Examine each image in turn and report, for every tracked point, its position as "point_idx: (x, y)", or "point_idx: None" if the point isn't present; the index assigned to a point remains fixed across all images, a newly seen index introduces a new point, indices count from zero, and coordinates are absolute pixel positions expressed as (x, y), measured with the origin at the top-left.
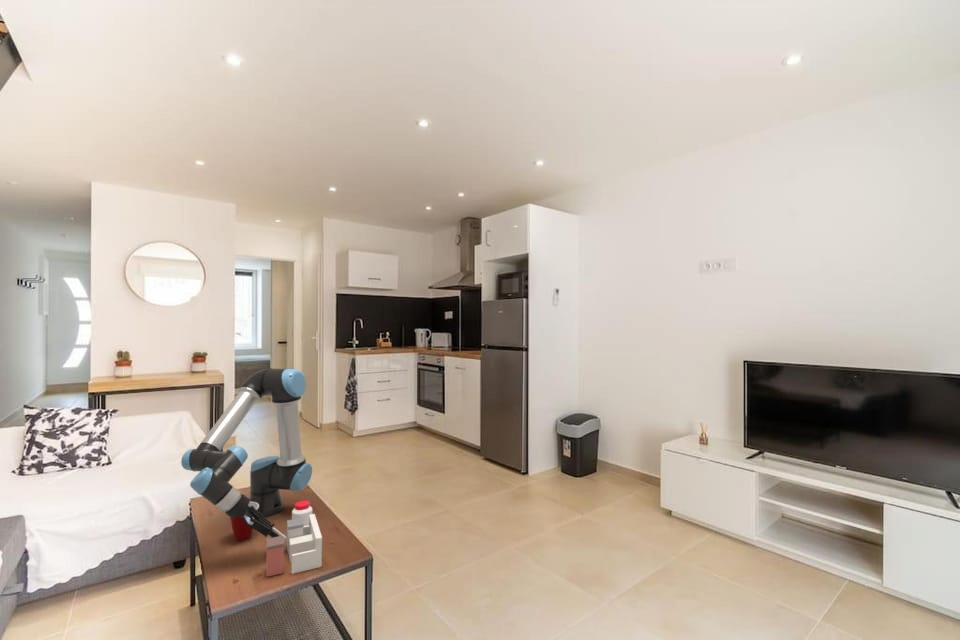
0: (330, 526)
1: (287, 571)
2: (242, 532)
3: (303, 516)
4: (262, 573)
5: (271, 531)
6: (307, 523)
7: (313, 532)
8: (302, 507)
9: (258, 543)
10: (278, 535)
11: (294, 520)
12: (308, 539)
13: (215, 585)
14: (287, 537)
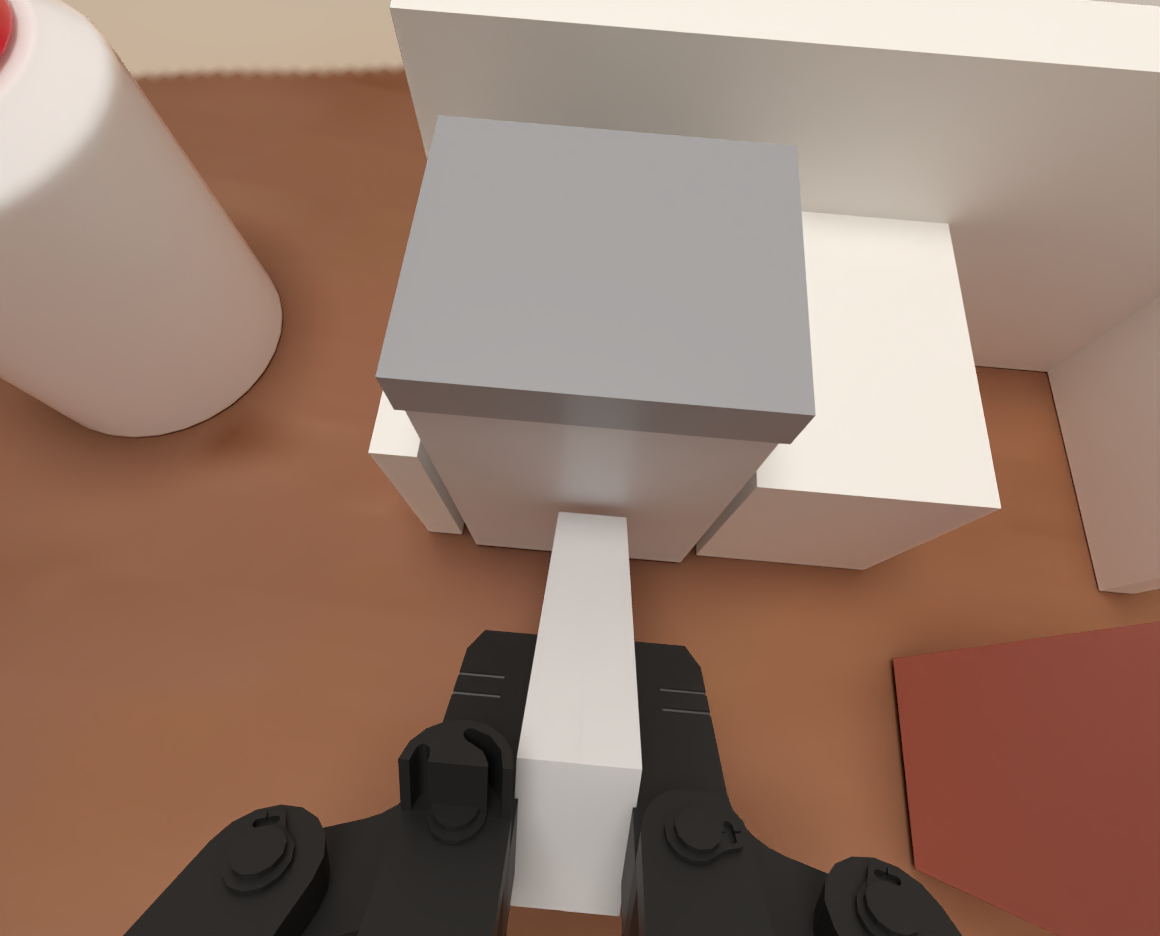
0: (289, 110)
1: (1063, 627)
2: None
3: (139, 158)
4: (1026, 933)
5: (759, 845)
6: (221, 213)
7: (1105, 106)
8: None
9: (86, 898)
10: (656, 647)
11: (489, 244)
12: (903, 263)
13: None
14: (562, 503)
